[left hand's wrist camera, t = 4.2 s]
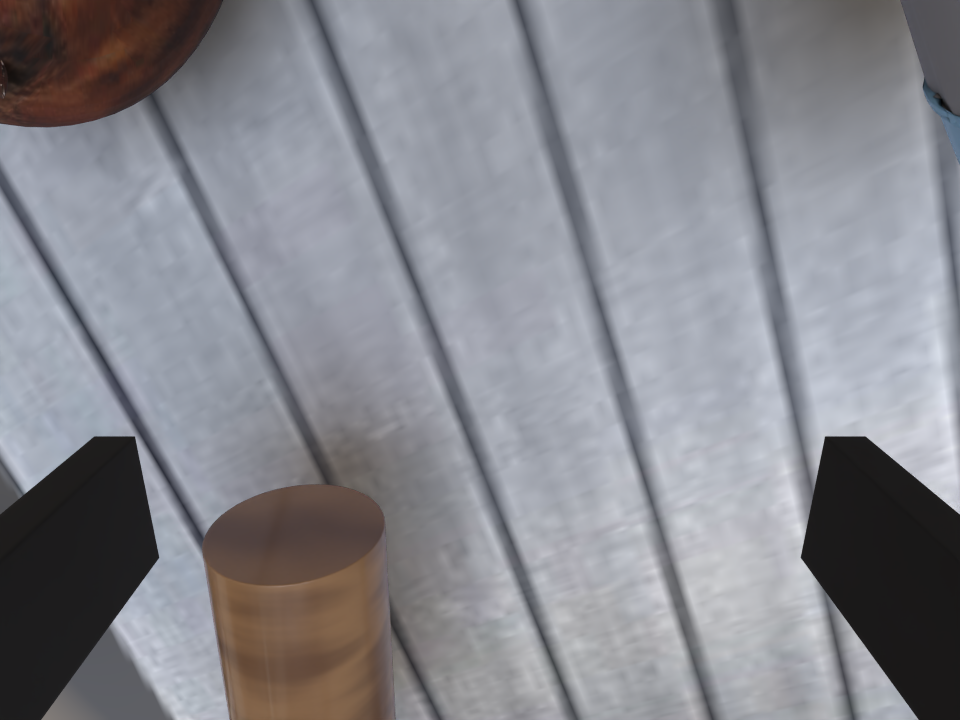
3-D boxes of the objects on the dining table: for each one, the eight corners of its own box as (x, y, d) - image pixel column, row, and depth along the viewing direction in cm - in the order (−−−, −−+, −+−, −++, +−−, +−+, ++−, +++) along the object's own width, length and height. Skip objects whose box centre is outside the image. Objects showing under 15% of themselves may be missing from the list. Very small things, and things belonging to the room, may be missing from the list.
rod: (239, 483, 37) (169, 585, 29) (395, 484, 37) (369, 586, 29) (281, 789, 45) (235, 939, 37) (409, 791, 45) (392, 940, 37)
